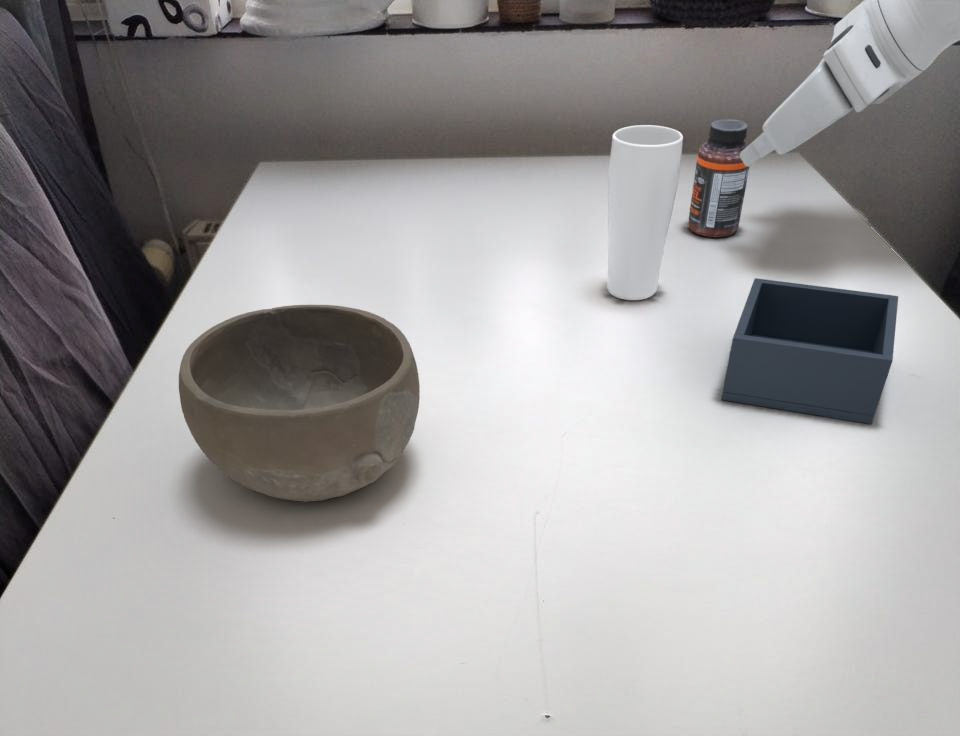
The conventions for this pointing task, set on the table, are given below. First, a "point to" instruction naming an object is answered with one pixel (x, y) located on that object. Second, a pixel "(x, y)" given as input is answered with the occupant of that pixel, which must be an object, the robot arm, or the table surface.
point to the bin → (812, 350)
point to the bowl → (301, 399)
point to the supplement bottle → (719, 181)
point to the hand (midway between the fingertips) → (756, 146)
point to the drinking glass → (640, 206)
